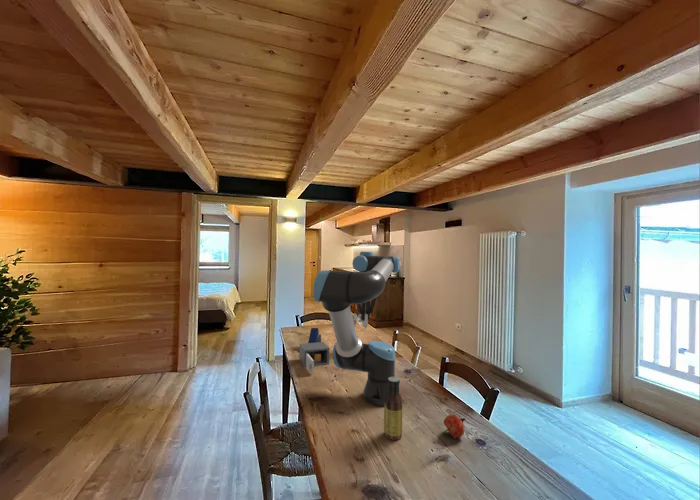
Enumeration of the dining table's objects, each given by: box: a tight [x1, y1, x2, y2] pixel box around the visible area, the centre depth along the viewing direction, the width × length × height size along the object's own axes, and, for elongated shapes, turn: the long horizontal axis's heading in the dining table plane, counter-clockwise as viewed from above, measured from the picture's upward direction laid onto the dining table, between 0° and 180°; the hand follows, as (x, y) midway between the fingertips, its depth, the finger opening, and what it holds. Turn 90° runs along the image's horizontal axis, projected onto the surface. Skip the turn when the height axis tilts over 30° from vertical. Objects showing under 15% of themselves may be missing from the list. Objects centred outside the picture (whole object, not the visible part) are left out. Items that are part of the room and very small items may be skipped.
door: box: [305, 353, 315, 375], centre depth 159 cm, size 2×12×7 cm, turn 23°
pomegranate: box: [442, 414, 467, 439], centre depth 107 cm, size 7×7×10 cm
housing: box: [299, 341, 330, 368], centre depth 173 cm, size 12×14×9 cm
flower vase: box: [352, 312, 367, 329], centre depth 189 cm, size 13×18×25 cm
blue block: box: [307, 327, 322, 343], centre depth 195 cm, size 6×20×15 cm, turn 175°
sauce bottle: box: [383, 376, 404, 441], centre depth 105 cm, size 6×6×20 cm
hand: (365, 326), depth 159 cm, fingers closed
